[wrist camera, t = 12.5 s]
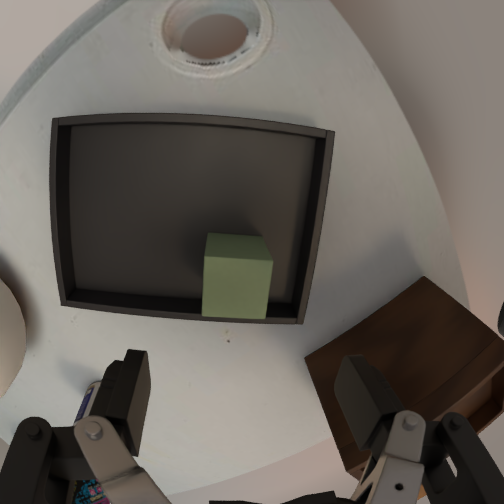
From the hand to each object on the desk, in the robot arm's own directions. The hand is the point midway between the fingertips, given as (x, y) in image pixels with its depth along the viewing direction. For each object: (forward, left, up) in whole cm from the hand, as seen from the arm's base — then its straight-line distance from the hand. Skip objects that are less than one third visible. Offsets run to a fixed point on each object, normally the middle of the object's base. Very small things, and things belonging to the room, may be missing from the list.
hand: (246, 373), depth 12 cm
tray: (+4, -3, -13) cm, 14 cm away
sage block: (0, 0, -12) cm, 12 cm away
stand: (-16, +9, -13) cm, 22 cm away
